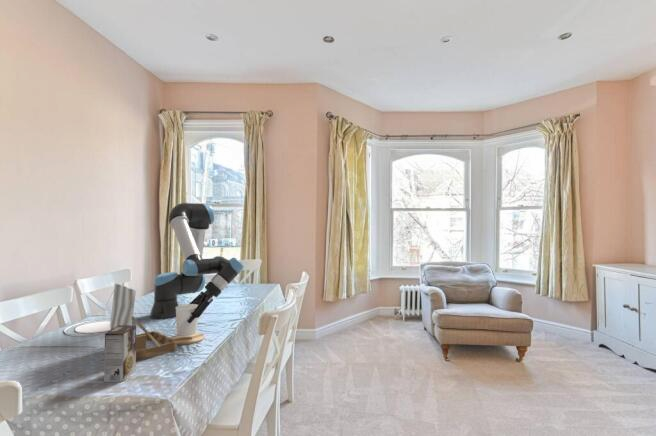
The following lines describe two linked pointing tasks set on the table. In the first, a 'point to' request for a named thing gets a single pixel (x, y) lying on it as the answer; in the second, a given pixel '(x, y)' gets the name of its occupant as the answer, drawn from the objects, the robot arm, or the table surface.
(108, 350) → the coffee box
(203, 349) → the table surface
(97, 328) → the plate
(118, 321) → the cold frame
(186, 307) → the candle holder
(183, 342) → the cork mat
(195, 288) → the robot arm
